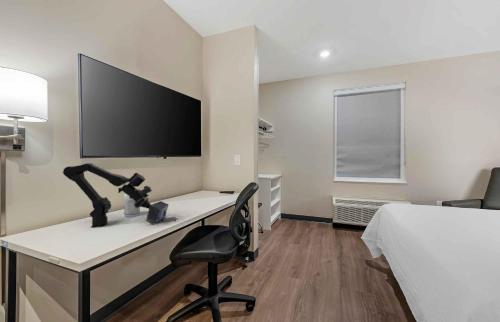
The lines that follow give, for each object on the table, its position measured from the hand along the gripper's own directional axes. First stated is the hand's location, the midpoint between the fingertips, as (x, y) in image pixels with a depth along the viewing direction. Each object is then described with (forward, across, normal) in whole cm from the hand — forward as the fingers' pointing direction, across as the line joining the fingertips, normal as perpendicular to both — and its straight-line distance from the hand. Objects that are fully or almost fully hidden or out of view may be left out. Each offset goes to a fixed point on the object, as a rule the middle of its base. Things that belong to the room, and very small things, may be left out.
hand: (152, 208), depth 127 cm
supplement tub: (-5, +20, +16) cm, 26 cm away
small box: (+6, 0, +4) cm, 8 cm away
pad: (+12, +2, -1) cm, 13 cm away
